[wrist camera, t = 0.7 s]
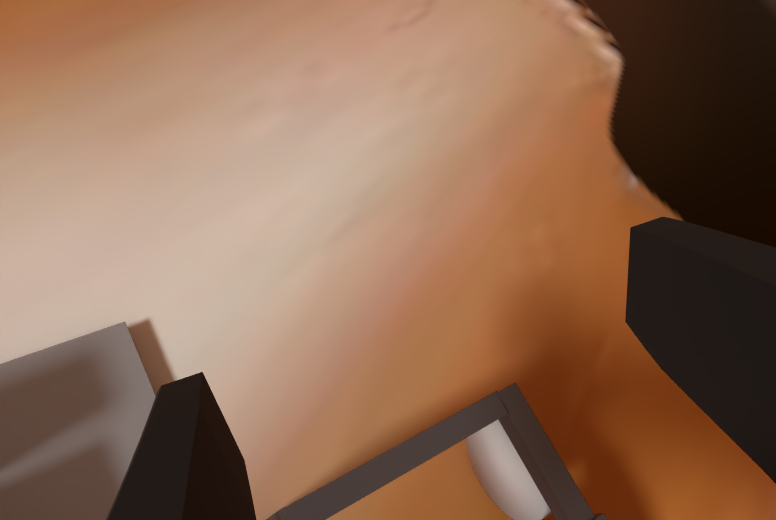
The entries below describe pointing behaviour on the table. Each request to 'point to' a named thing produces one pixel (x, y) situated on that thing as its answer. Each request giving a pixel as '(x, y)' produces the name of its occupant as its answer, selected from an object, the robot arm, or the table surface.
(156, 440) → the robot arm
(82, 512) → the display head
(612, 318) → the table surface
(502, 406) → the glasses
